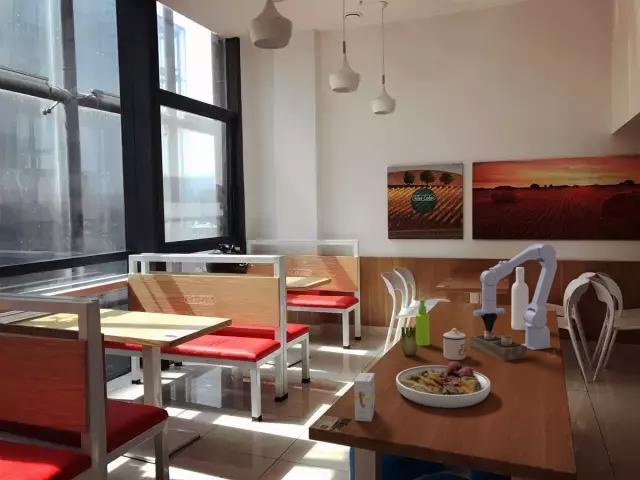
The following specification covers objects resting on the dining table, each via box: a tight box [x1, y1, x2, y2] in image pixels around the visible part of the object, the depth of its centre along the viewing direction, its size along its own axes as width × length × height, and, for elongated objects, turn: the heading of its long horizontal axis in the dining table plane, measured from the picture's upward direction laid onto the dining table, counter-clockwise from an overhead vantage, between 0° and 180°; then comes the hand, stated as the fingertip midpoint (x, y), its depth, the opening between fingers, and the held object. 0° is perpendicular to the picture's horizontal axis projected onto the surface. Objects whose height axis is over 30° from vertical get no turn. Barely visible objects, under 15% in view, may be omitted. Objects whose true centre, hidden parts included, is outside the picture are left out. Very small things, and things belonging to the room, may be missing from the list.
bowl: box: [395, 360, 492, 409], centre depth 174 cm, size 30×30×8 cm
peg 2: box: [500, 333, 513, 345], centre depth 215 cm, size 4×4×5 cm
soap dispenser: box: [415, 298, 431, 347], centre depth 235 cm, size 6×7×20 cm
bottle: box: [511, 266, 530, 331], centre depth 259 cm, size 8×8×30 cm
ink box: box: [353, 372, 376, 422], centre depth 157 cm, size 9×5×12 cm, turn 165°
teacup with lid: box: [442, 327, 467, 361], centre depth 216 cm, size 12×9×12 cm
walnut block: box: [469, 334, 528, 362], centre depth 220 cm, size 11×22×5 cm, turn 20°
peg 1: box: [483, 329, 495, 339], centre depth 225 cm, size 4×4×5 cm
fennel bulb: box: [400, 325, 418, 357], centre depth 219 cm, size 6×5×12 cm
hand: (489, 331), depth 225 cm, fingers closed, pressing on peg 1
